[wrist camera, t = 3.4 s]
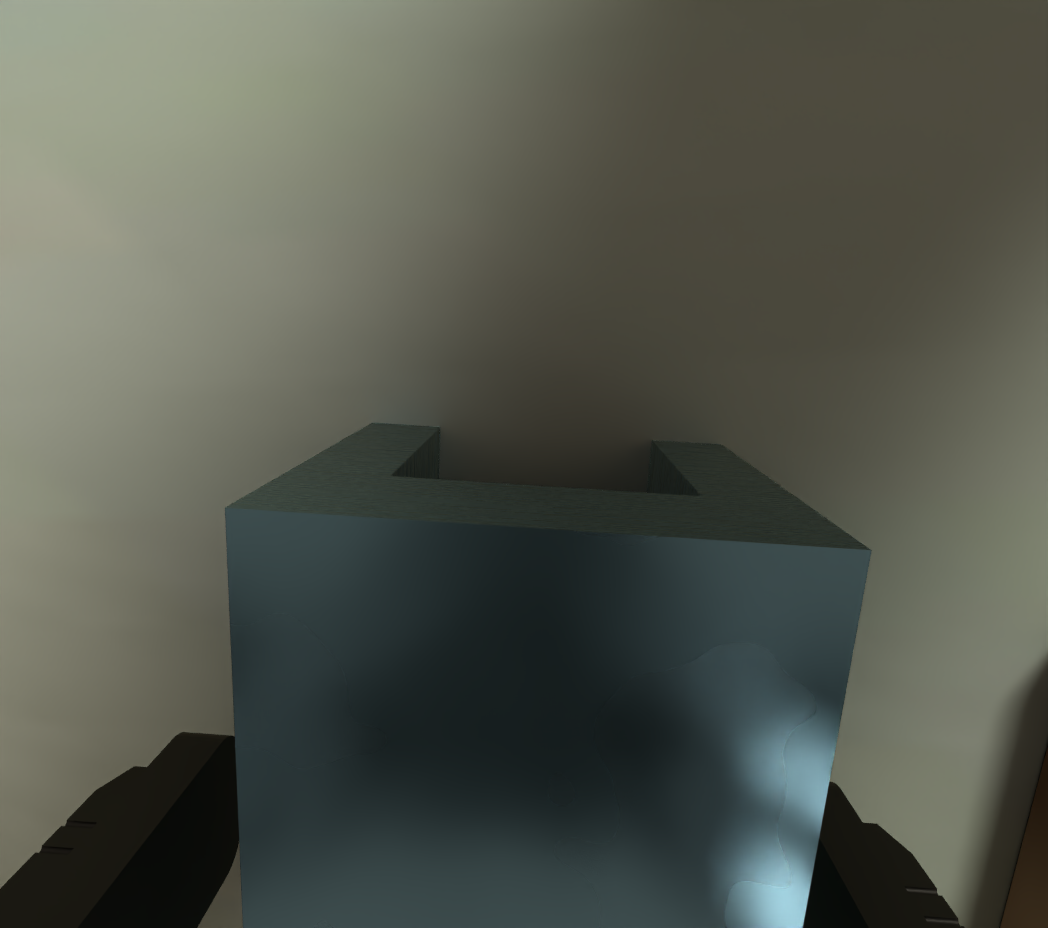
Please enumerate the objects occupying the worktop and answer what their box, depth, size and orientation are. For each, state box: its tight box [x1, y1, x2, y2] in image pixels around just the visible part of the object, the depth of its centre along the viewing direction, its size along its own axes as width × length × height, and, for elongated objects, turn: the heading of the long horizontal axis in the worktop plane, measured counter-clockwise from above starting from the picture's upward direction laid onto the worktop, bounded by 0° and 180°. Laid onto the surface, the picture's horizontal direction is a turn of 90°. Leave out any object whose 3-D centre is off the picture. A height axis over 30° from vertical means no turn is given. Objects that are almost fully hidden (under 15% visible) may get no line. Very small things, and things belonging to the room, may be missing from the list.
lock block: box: [225, 423, 871, 928], centre depth 9 cm, size 10×6×5 cm, turn 177°
